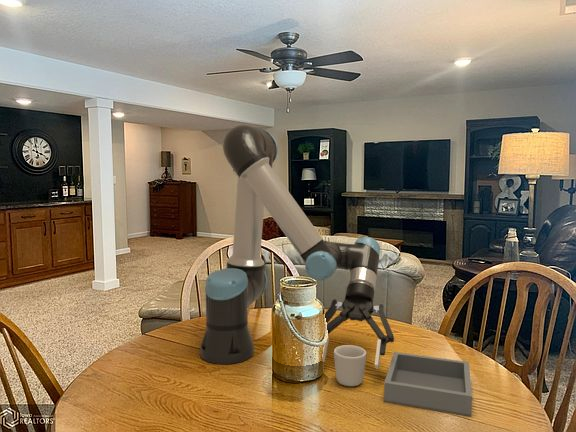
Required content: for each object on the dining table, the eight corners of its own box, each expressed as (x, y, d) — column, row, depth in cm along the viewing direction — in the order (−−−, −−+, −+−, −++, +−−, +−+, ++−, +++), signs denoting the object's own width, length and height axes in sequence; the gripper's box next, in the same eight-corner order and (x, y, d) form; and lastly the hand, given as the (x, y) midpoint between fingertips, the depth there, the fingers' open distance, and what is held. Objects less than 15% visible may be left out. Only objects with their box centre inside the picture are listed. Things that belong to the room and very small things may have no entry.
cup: (331, 369, 120) (332, 340, 119) (362, 370, 120) (362, 340, 119) (334, 389, 109) (334, 357, 108) (367, 390, 109) (368, 357, 108)
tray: (383, 401, 103) (384, 382, 103) (393, 368, 121) (393, 351, 120) (471, 416, 97) (472, 396, 97) (468, 379, 114) (468, 361, 114)
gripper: (408, 299, 123) (401, 376, 111) (319, 291, 131) (303, 362, 119) (407, 284, 118) (400, 364, 105) (314, 277, 126) (297, 350, 113)
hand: (348, 363), depth 112 cm, fingers open, 13 cm apart
